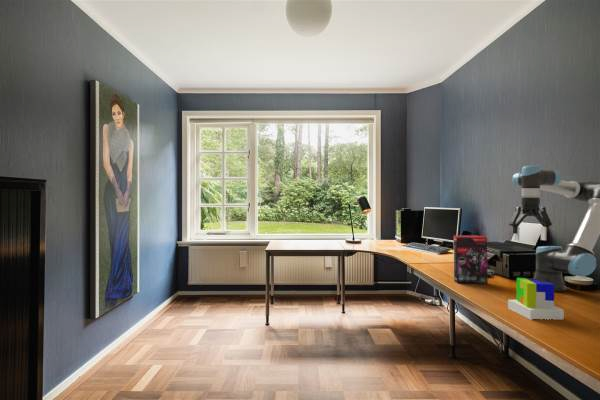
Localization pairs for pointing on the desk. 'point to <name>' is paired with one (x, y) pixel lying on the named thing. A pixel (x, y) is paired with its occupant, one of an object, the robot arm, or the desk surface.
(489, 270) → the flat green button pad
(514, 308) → the plinth
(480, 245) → the graphics card box
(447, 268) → the desk surface
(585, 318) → the desk surface
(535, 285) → the puzzle toy
